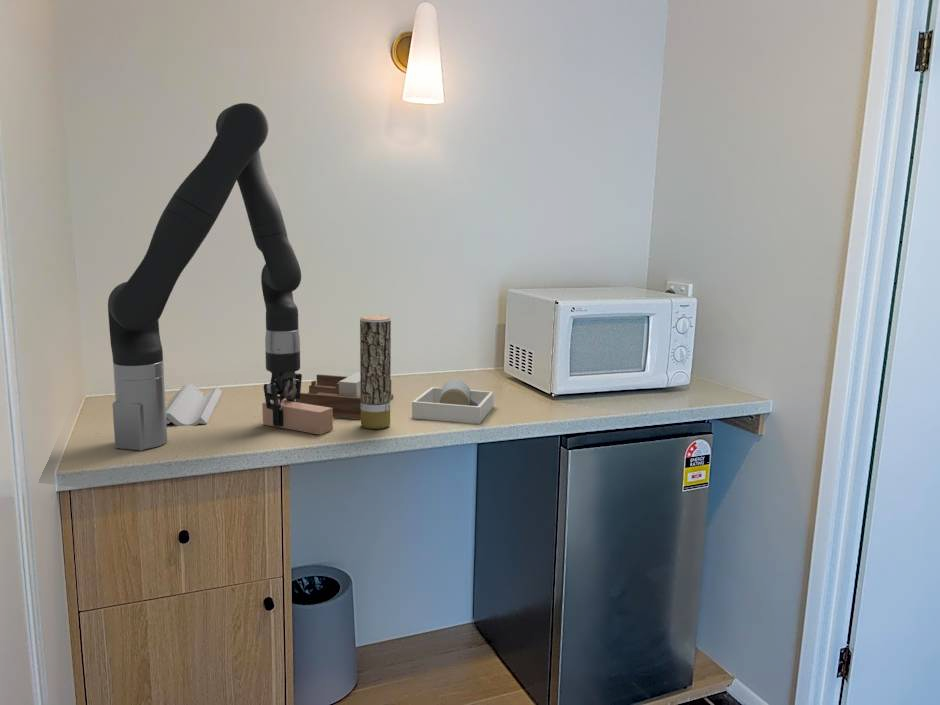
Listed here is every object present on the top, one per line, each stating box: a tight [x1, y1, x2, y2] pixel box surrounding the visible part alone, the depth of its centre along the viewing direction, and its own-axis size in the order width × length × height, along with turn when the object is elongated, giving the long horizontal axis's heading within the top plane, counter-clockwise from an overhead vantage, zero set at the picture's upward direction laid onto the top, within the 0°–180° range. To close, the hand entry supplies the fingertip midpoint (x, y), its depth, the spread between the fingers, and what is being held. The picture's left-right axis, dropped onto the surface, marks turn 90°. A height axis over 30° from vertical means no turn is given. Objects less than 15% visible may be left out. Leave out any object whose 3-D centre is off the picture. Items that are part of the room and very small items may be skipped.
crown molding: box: [165, 382, 223, 427], centre depth 177 cm, size 31×12×4 cm, turn 13°
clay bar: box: [261, 400, 334, 435], centre depth 162 cm, size 16×4×5 cm, turn 65°
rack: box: [279, 374, 394, 420], centre depth 183 cm, size 22×22×5 cm
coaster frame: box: [411, 386, 495, 425], centre depth 179 cm, size 17×17×4 cm
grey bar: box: [339, 370, 360, 398], centre depth 182 cm, size 16×4×5 cm, turn 167°
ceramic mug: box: [440, 379, 479, 406], centre depth 178 cm, size 11×8×8 cm
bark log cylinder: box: [359, 315, 392, 430], centre depth 164 cm, size 7×7×25 cm
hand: (284, 422), depth 164 cm, fingers closed on clay bar, 5 cm apart
